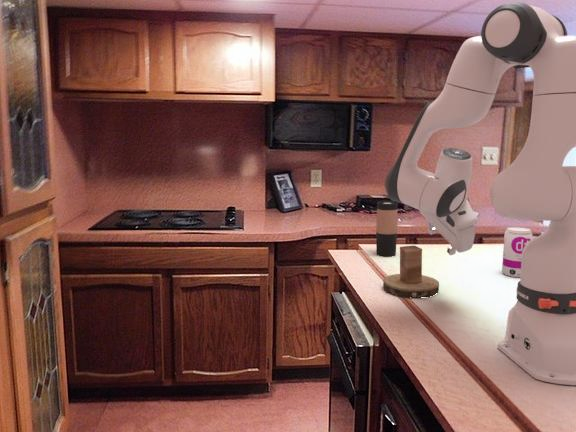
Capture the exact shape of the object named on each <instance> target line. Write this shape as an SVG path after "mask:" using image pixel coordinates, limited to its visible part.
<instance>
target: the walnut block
mask: <svg viewBox="0 0 576 432" xmlns="http://www.w3.org/2000/svg"><path fill="white" fill-rule="evenodd" d="M422 253H423V249H422V248H421V247H419V246H417V245H406V246H405V245H404V246H399V274H400V280H401V281H403V282H405V283H406V284H412V283H420V282H422V275H423V268H422V267H423V254H422Z"/></svg>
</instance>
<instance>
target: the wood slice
mask: <svg viewBox="0 0 576 432" xmlns="http://www.w3.org/2000/svg"><path fill="white" fill-rule="evenodd" d="M382 281H383V282H382V283H383V291H384V292H385V293H387V294H389V295H392V296H395V297H399V298H403V299H404V298H405V299H422V298H421V297H428V298H431V297H430V296H433V295H435V294H436V293H438V294H439V292H440V282H439V281H438V280H437V279H436V278H434V277H431V276H428V275H423V274H422V282H420V283H412V284H406V283H405V282H403V281H401V280H400V273H395V274H390V275H387V276H385V277H384V278H383V280H382ZM438 291H439V292H438ZM435 296H436V295H435ZM410 297H411V298H410ZM433 297H434V296H433Z"/></svg>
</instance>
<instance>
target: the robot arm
mask: <svg viewBox="0 0 576 432" xmlns="http://www.w3.org/2000/svg"><path fill="white" fill-rule="evenodd" d="M483 21H484V22H483V24H482V25H481V26H482V27H481V31H480V35H478V36H472V37H468V39H465V41H464V42H463V43H462V44H461V46H460V48H459V49H458V51H457V53H456V56H455V58H454V59H453V62H452V64H451V66H450V70H449V72H448V74H447V75H448V76H447V78H446V81H445V83H444V86H443V89H442V91H441V92H440V94H439V95H438V97H437V98H435V100H433V101H431V102H430V101H429V102H428V103H426V104H425V105H424V106H423V108H422V109H421V111H420V113H419V114H418V116H417V117H416V119H415V121H414V124H413V125H412V127H411V130H410V132H409V134H408V135H407V137H406V140H405V142H404V144H403V146H402V149H401V151H400V153H399V155H398V157H397V159H396V160H395V162H394V164H393V165H392V167H391V169H390V170H389V172H388V173H387V176H386V178H385V180H384V189H385V192H386V194H387V196H388V198H389V199H390V201H392V202H394V203H399V204H403V205H406V206H408V207H411V208H414V209H416V210H418V211H419V214H420V215H422V217H424V219H425V221H426V224H427V225H426V226H427V232H428V233H429V235H435V234H436V231H437V232H438V233H439V234H440V235H441V236H442V237H443V238H444V239H445V240H446V241H447V242H448V243H449V245H450V246H449V247H447V248H446V252H447V253H448V255H449V256H453V255H456V252H458V253H459V254H460V253H465V252H467V251H470V250H471V249H472V248H473V245H474V241H475V236H476V228H475V225H476V224H478V220H479V218H478V216H477V215H476V213H475V211H474V210H473V209H472V207H471V205H470V203H469V201H468V196H469V195H468V189H469V188H470V184H471V181H472V177H473V176H472V175H473V167H474V165H473V164H474V161H473V156H472V155H471V153H469V152H468V151H466V150H463V149H459V148H457V147H456V148H455V147H448V148H447V147H446V148H444V149H442V150H441V152H440V153H439V157H438V160H437V163H436V169H435V172H434V173H433V172H431V171H428V170H425V169H423V168H420V167H419V166H418V161H419V159H420V157H421V155H422V154H423V151H424V149H425V147H426V145H427V143H428V142H429V140H430V138H431V137H432V135H433V134H434V133H436V132H438V131H440V130H446V129H457V128H458V129H459V128H467V127H471V126H473V125H475V124H477V123H479V122H481V121H482V120H483V119H484V118H485V117H486V116H487V114H488V113H489V112H490V109H491V107H492V105H493V102H494V101H495V100H494V99H495V97H496V94H497V90H498V87H499V85H500V81H501V79H502V77H503V75H504V74H505V72H506V71H507V70H509V69H510V68H512V67H513V68H514V69H525V68H530V69H531V71H532V75H533V88H532V102H531V103H532V104H531V114H530V116H531V117H530V123H529V128H528V129H529V130H528V134H527V138H526V141H525V143H524V146H523V147H522V149H521V151H520V152H519V154H518V155H517V157H516V158H515V159H514V161H513V162H512V163H510V164H509V165H508V166H507V167H506V168H505V169H503V170H501V171H499V173H498V174H497V175H496V177H495V178H494V179H493V181H492V184H491V187H490V192H489V193H490V194H489V195H490V196H489V197H490V202H491V205H492V207H493V209H494V210H495V211H496V213H497V214H498V215H500V216H501V217H503V218H507V219H513V220H518V221H523V222H529V221H530V222H531V221H535V222H536V221H539V222H540V221H542V222H543V221H546V222H547V221H549V224H548V226H547V227H546V229H545V230H544V231H543V233H541V234H539V236H536V237H535V238H532V240H531V241H529V242H528V243H527V244H526V245H525V247H524V249H523V251H522V262H521V276H520V278H519V281H518V282H517V286H516V300H517V301H516V303H515V304H514V306H513V307H512V308H510V310H509V311H508V315H507V319H506V320H507V321H506V328H505V329H506V330H505V336H504V339H503V340H500V341H498V343H497V348H498V350H500V351H501V352H502V353H504V355H506V357H508V358H509V359H510V360H512V361H513V362H514V363H515V364H517V366H519V367H520V368H521V369H523V371H524V372H527V373H528V374H529V375H530V376H531V377H532V378H533V379H536V380H538V381H542V382H547V383H552V384H557V385H569V386H576V165H573V166H572V165H569V166H568V165H564V161H565V159H566V157H567V155H568V154H569V152H570V151H572V149H574V148H576V34H575V35H574V34H573V35H572V34H570V35H569V34H568V31H567V28H566V25H565V24H564V22H563V21H562V20H561V19H560V18H559V17H557V16H556V15H554V14H552V13H551V14H550V13H549V12H547V11H546V10H544V9H543V8H542V7H539V6H534V5H531V4H530V5H529V4H526V3H524V2H514V1H513V2H508V3H503V4H501V5H499V6H497V7H496V8H495V9H493V10H492V11H491V12H490V13H489V14H488V15H487V17H486V18H485V19H484V20H483Z"/></svg>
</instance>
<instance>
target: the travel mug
mask: <svg viewBox="0 0 576 432" xmlns="http://www.w3.org/2000/svg"><path fill="white" fill-rule="evenodd" d="M398 205H399V204H398V202H394V201H392V200H381V201H377V202H376V227H375V228H376V231H375V237H376V239H375V240H376V241H375V242H376V247H375V249H376V250H375V251H376V256H378V255H379V257H381V256H383V257H382V258H391V257H392V256H393V257H396V255H397V238H398ZM393 257H392V258H393Z"/></svg>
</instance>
